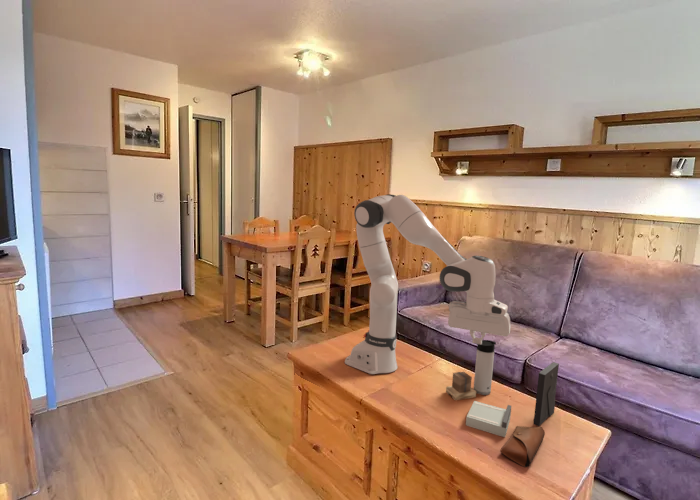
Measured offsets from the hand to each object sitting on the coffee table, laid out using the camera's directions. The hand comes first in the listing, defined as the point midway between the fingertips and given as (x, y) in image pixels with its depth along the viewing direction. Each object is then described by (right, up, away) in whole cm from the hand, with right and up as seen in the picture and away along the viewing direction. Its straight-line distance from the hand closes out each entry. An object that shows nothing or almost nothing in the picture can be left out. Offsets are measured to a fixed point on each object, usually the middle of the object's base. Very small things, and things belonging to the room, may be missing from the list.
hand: (477, 343), depth 135 cm
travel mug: (+7, -22, +16) cm, 28 cm away
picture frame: (+22, -25, -1) cm, 34 cm away
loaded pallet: (-2, -22, +13) cm, 26 cm away
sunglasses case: (+6, -27, -17) cm, 33 cm away
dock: (+2, -25, -5) cm, 25 cm away
